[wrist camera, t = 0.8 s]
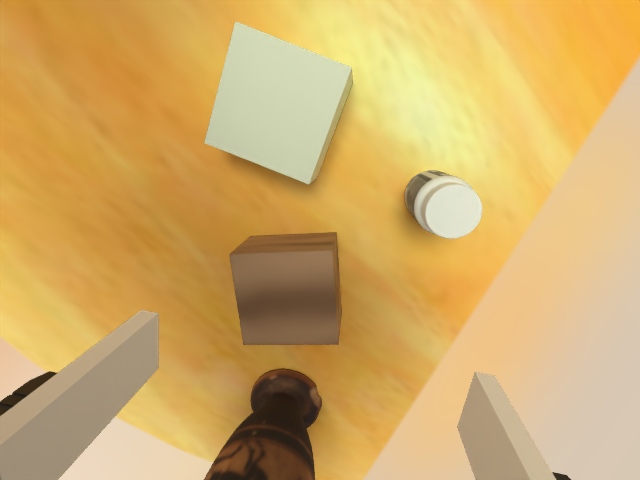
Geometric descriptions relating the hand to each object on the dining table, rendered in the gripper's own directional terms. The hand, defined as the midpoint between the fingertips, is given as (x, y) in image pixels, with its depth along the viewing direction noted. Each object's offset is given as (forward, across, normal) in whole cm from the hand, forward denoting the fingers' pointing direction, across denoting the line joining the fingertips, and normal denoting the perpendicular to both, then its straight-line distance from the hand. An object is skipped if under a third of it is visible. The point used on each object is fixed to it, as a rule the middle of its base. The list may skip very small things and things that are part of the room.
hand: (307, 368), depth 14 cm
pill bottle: (+21, +8, +6) cm, 23 cm away
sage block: (+21, -6, +11) cm, 25 cm away
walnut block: (+21, -4, -5) cm, 22 cm away
